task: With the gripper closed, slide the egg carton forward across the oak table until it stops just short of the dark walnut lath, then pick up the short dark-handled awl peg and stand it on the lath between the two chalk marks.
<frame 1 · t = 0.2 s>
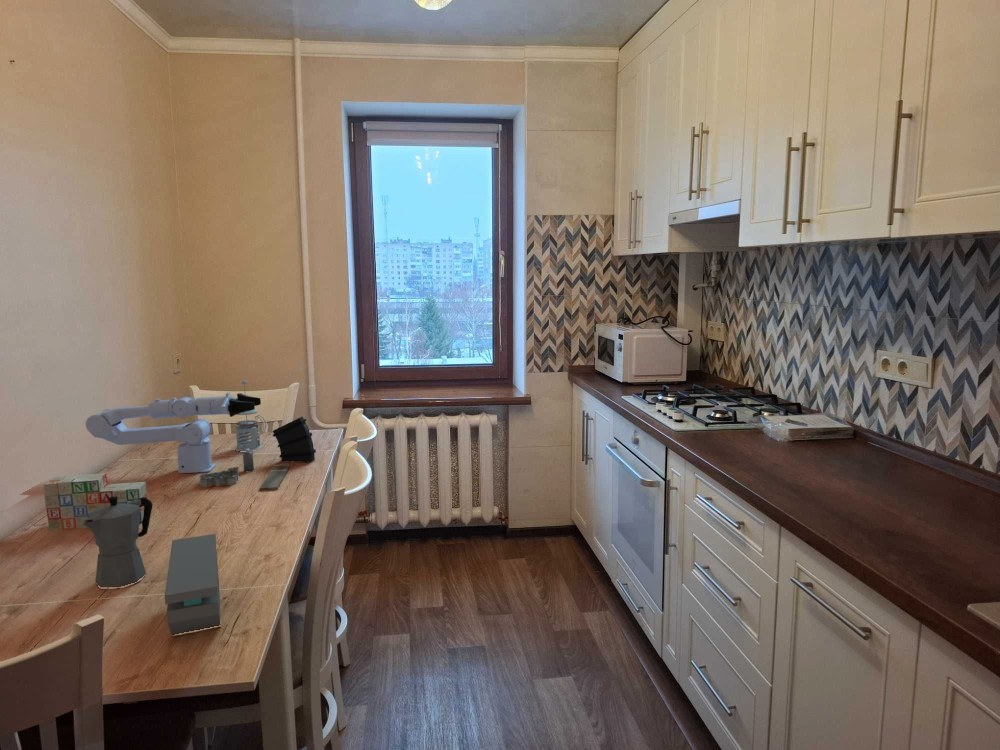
hand: (257, 403, 216), 21 cm above the table, tool horizontal, fingers open, 7 cm apart
stack of blocks: (100, 524, 171), on the table
awl peg: (249, 470, 216), on the table
coffeepot: (126, 578, 140), on the table
grey slotted box: (197, 618, 124), on the table
egg carton: (219, 484, 203), on the table
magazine: (295, 461, 226), on the table
french press: (251, 449, 242), on the table
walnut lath: (275, 478, 207), on the table
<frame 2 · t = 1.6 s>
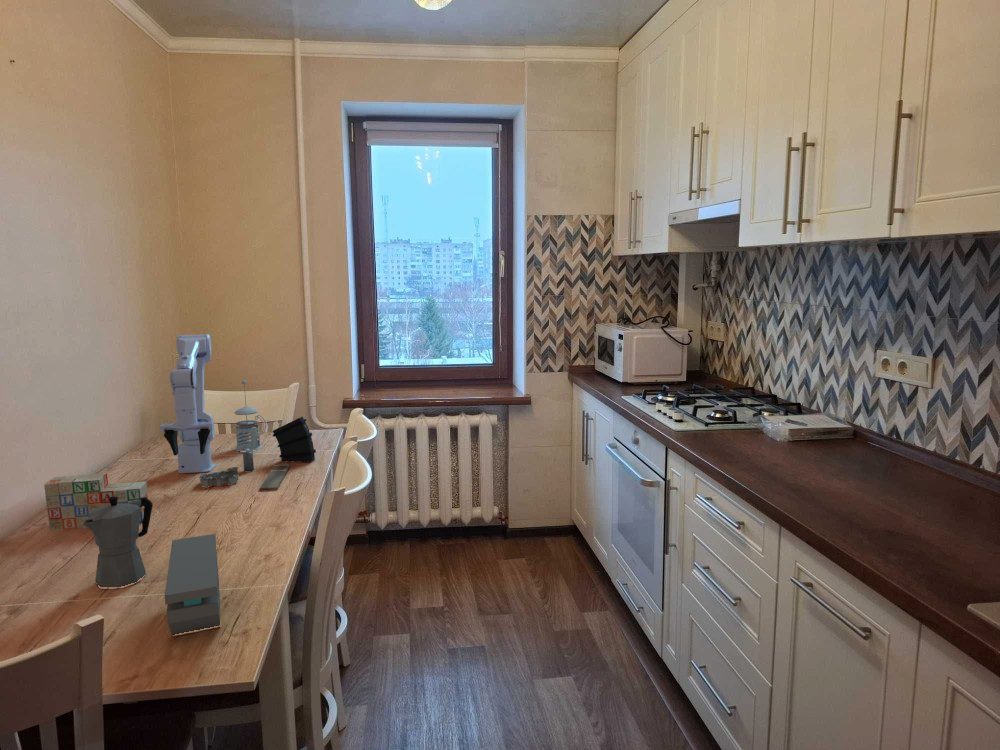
hand: (189, 453, 200), 9 cm above the table, tool pointing down, fingers open, 7 cm apart
nothing on the table moved.
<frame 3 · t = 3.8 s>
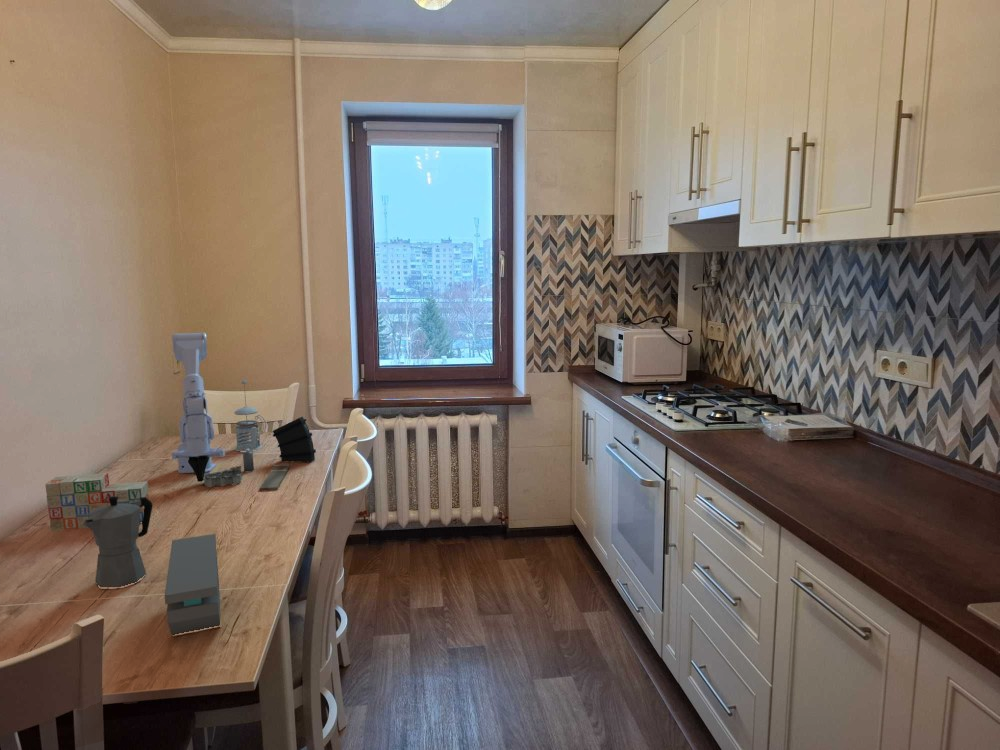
hand: (200, 480, 202), 1 cm above the table, tool pointing down, fingers closed
egg carton: (223, 483, 203), on the table, touching gripper
everything else where it was.
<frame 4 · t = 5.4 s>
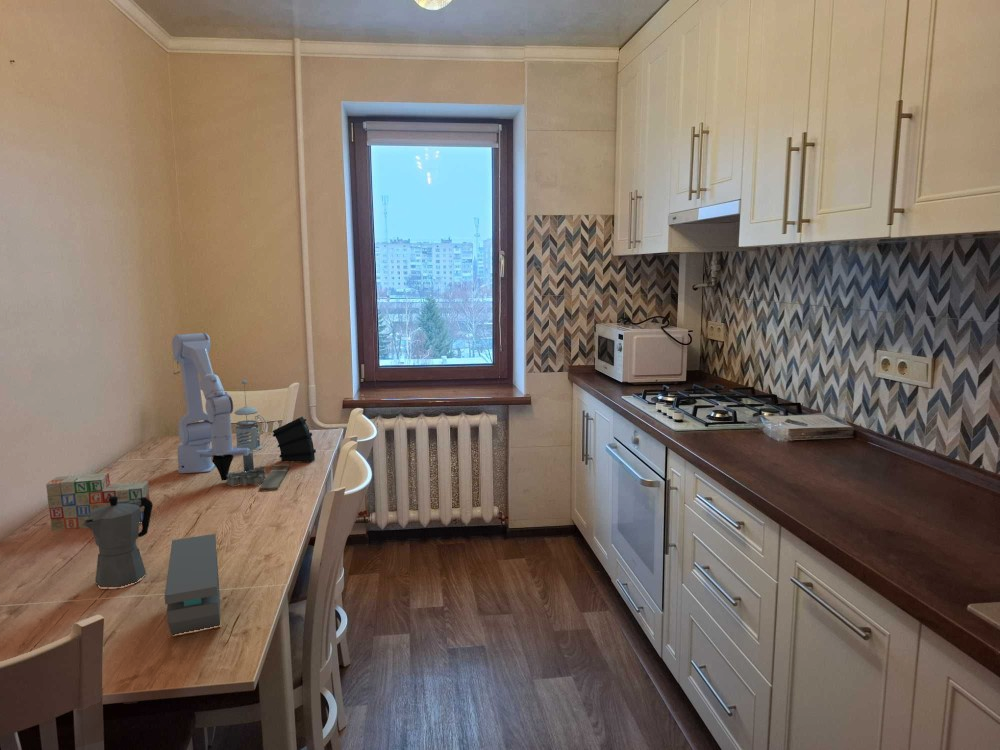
hand: (224, 479, 203), 1 cm above the table, tool pointing down, fingers closed
egg carton: (246, 483, 203), on the table
everything else where it was.
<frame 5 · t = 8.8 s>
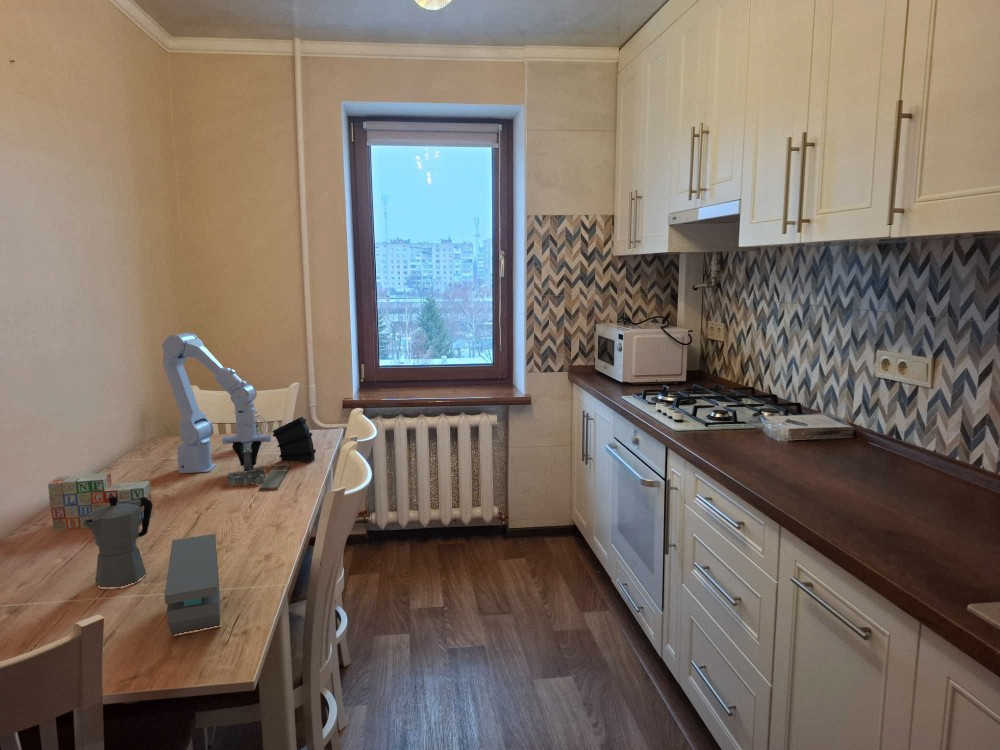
hand: (248, 464, 215), 2 cm above the table, tool pointing down, fingers closed on awl peg, 3 cm apart
awl peg: (249, 470, 216), on the table, touching gripper
everything else where it was.
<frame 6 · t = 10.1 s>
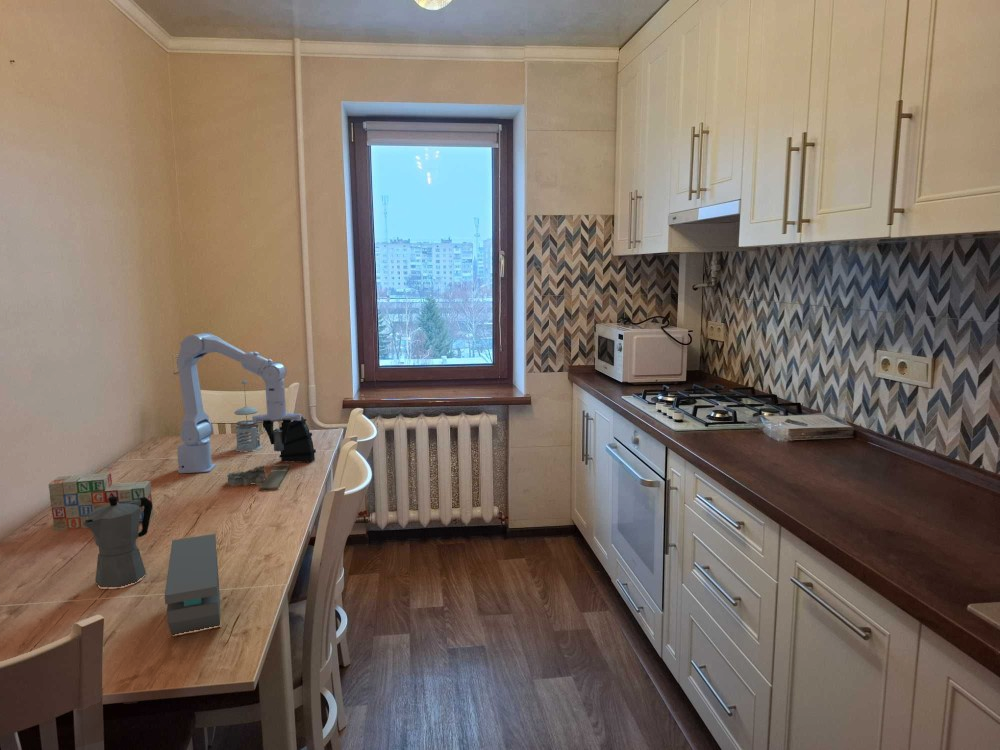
hand: (278, 443, 214), 9 cm above the table, tool pointing down, fingers closed on awl peg, 3 cm apart
awl peg: (278, 449, 214), point 7 cm above the table, touching gripper
when the fingers open (3 cm above the table, at t = 11.4 s): awl peg stays where it is, resting on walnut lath.
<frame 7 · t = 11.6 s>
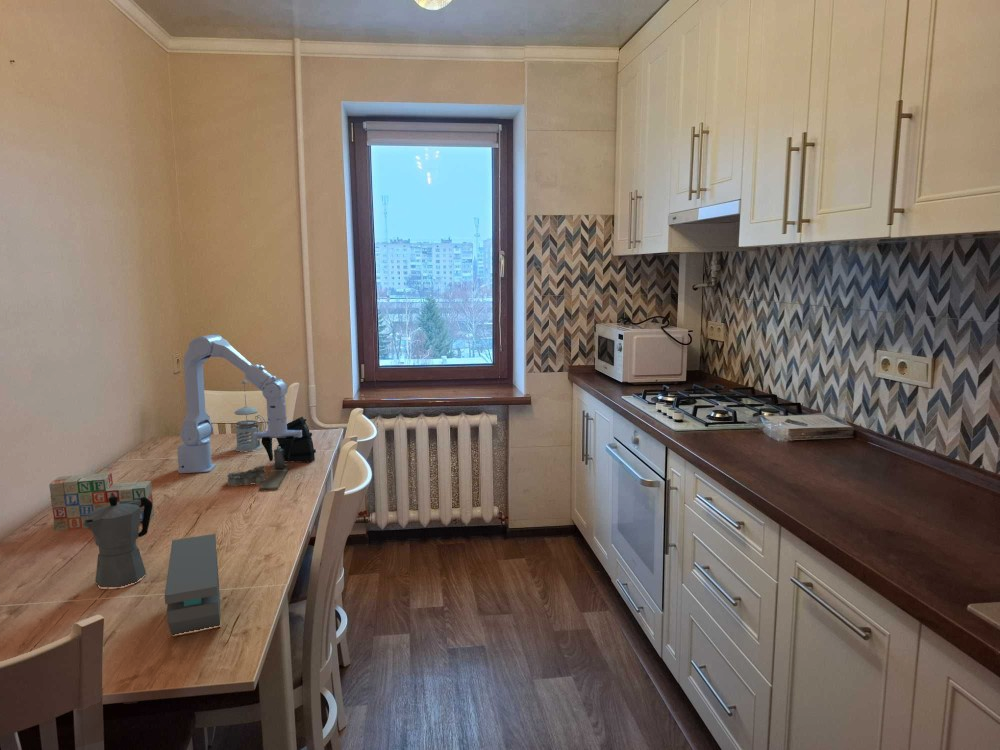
hand: (279, 459, 215), 4 cm above the table, tool pointing down, fingers open, 4 cm apart
awl peg: (280, 468, 215), point 1 cm above the table, touching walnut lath
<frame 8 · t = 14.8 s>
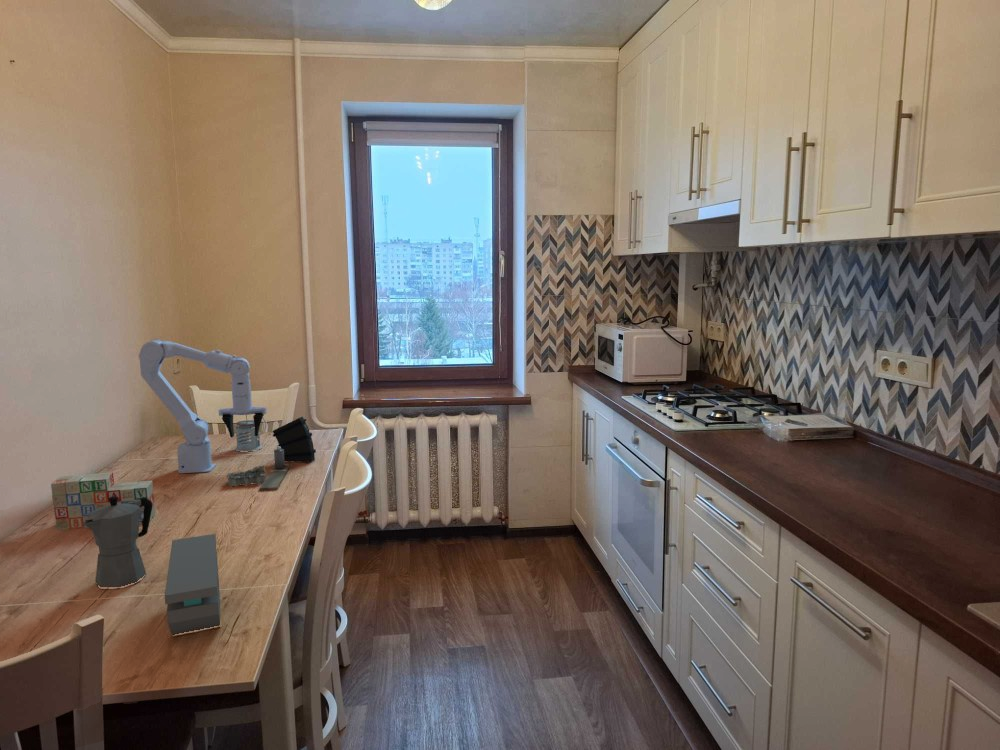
hand: (244, 436, 220), 10 cm above the table, tool pointing down, fingers open, 7 cm apart
at the end: egg carton inside the target area (1.0 cm from its centre), on the table; awl peg inside the target area (0.0 cm from its centre), point 0.8 cm above the table; awl peg tilted 0° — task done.
